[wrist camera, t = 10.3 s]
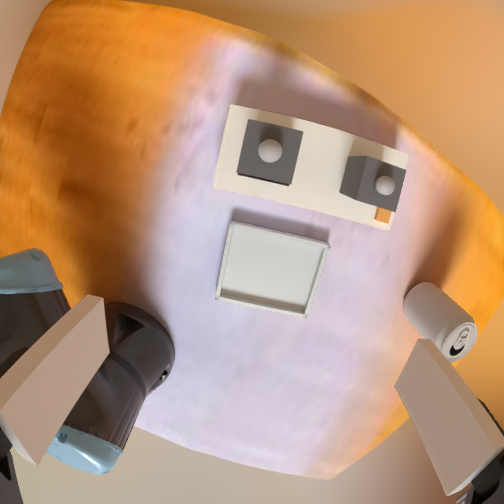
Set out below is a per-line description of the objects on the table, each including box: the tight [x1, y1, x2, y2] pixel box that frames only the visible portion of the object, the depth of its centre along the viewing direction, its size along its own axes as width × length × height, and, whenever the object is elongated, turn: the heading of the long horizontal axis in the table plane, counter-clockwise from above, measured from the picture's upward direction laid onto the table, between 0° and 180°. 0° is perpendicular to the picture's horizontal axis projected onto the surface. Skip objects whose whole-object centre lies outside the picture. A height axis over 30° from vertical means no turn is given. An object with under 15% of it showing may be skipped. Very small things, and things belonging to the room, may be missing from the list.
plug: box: [236, 119, 304, 185], centre depth 25 cm, size 4×4×13 cm
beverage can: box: [403, 282, 478, 363], centre depth 31 cm, size 6×6×12 cm
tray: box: [215, 220, 330, 318], centre depth 35 cm, size 12×10×2 cm
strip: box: [212, 104, 409, 231], centre depth 27 cm, size 20×9×11 cm, turn 78°
